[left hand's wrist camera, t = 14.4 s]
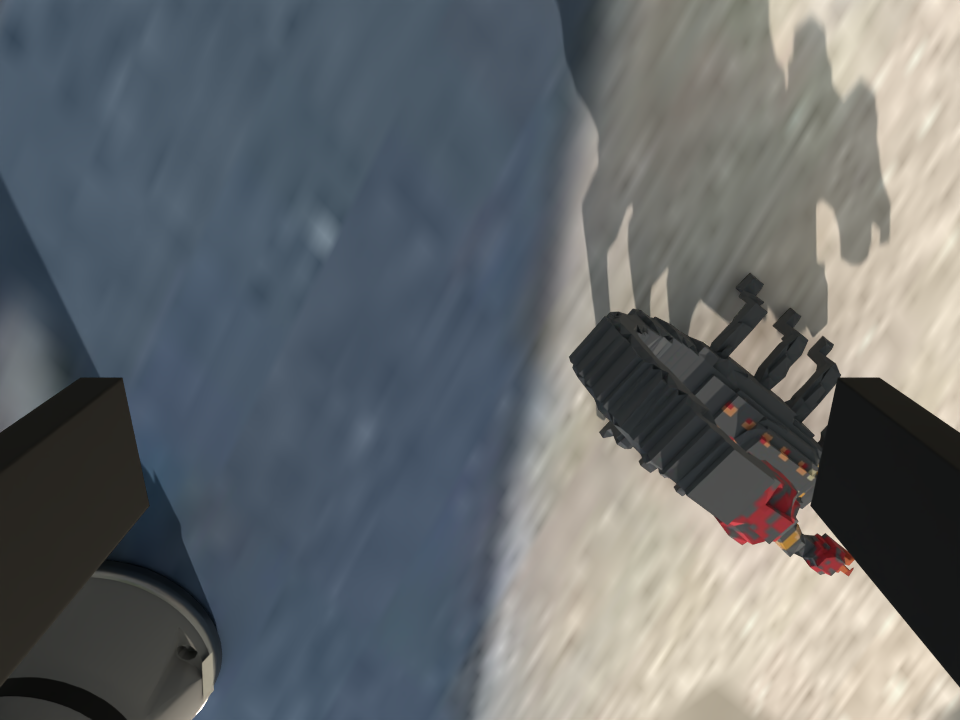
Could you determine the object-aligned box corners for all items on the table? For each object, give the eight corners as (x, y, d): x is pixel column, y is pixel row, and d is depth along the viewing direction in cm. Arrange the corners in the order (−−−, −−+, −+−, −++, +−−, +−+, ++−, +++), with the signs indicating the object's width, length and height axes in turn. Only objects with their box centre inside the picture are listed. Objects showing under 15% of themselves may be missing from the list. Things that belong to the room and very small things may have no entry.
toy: (637, 175, 37) (772, 237, 20) (939, 436, 43) (1242, 656, 26) (490, 352, 41) (497, 529, 24) (786, 569, 47) (961, 836, 30)
